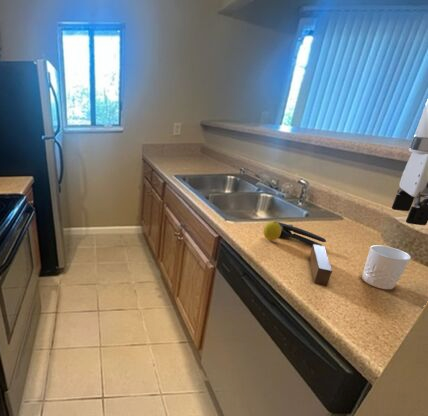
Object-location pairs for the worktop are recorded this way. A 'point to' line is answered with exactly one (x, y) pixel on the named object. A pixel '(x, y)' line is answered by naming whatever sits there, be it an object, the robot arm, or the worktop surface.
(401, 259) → the white cup
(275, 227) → the lemon
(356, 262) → the worktop surface
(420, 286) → the worktop surface
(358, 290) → the worktop surface
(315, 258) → the walnut rail
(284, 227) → the can opener
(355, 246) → the worktop surface
